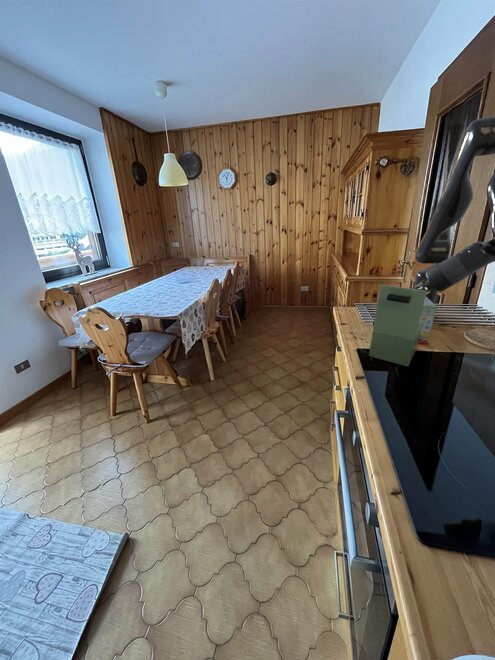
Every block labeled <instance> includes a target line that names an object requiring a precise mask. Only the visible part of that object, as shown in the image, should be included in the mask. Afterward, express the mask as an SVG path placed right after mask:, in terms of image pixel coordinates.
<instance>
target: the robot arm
mask: <svg viewBox="0 0 495 660" xmlns="http://www.w3.org/2000/svg"><path fill="white" fill-rule="evenodd" d="M491 155H495V116H489V117H481V118H478V119H474V120H473V121H471V123H469V125H468V126H467V128H466V129H465V131H464V133H463V136H462V138H461V141H460V143H459V147H458V150H457V154H456V156H455V159H454V162H453V165H452V167H451V168H452V169H451V171H450V173H449V176H448V179H447V181H446V184H445V186H444V188H443V190H442V193H441V196H440V197H439V200H438V202H437V204H436V207H435V209H434V213H433V215H432V217H431V220H430V222H429V225H428V227H427V229H426V231H425V233H424V235H423V237H422V239H421V240H420V242H419V244H418V246H417V249H416V253H415V261H416V262H417V263H419V264H424V265H429V264H430V265H431V266H429V267H427V268H424V269H421V270H419V271H417V272H416V274H415V279H414V283H413V286H412V287H411V289H416V290H424V291H427V292H426V297H427V298H428V299H429V300H430V301H431V302H433V303H434V304H435V305H436V301H437V297H438V293H439V292H441V293H442V292H444V291H446V290H447V289H449V288H451V287H453V286H455V285H457V284H458V283H460V282H462V281H464V280H465V279H467V278H469V276H471V275H472V274H474V273H476V272H478V271H480V270H481V269H483V268H485V267H486V266H488V265H489V264H492V263H495V171H494V172H493V174H492V175H491V177H490V179H489V181H488V182H487V187H486V199H487V203H488V207H489V210H490V213H491V215H490V227H491V228H490V229H491V233H492V236H493V238H492V239H490V240H487V241H476V242H473V243H472V244H470V245H468V246H466V247H464V248H463V249H461V250H460V251H458V252H457V253H455V254H453V255H451V256H450V254H451V253H450V252H451V242H450V241H449V240H446V239H438V238H439V237H440V236H441V235H442V234H444V233H445V232H446V231H448V230H449V229H451V228H452V227H454V226H455V225H456V224H457V223H459V222H460V221H461V220H462V219H463V218H464V216H465V215H466V213H467V212H468V210H469V207H470V205H471V203H472V202H473V198H474V189H473V186H472V181H471V178H470V168H471V166H472V164H473V161H474V159H476V157H483V156H484V157H485V156H491Z"/></svg>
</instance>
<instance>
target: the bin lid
mask: <svg viewBox="0 0 495 660" xmlns="http://www.w3.org/2000/svg"><path fill="white" fill-rule="evenodd" d="M426 292H427V291H424V290H416V289H412V288H408V287H401V286H394V285H393V286H392V285H386V284H380V287H379V292H378V298H377V303H376V309H375V313H374V314H375V315H374V320H373V324H372V325H373V326H372V332H373V331H378V332H382V333H387V334H391V335H396V336H400V337H405V338H409V339H414V340H415V337H416V333H417V329H418V325H419V320H420V316H421V312H422V308H423V304H424V300H425V296H426Z"/></svg>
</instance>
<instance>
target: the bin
mask: <svg viewBox="0 0 495 660" xmlns="http://www.w3.org/2000/svg"><path fill="white" fill-rule="evenodd" d="M422 325H423V324H420V323H419V325H418V329H417V333H416V337H415V340H414V339H409V338H405V337H400V336H396V335H391V334H387V333H382V332H378V331H373V330H372V334H371V338H370V339H371V340H370V346H369V352H368V357H372V358H375V359H379V360H383V361H385V362H390V363H392V364H395V365H400V366H404V367H407V368H408V367H409V366H410V364H411V362H412V360H413V357H414V355H415V353H416V351H417V349H418V345H419V343H418V341H419V337H420V333H421V329H422Z"/></svg>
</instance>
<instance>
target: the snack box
mask: <svg viewBox="0 0 495 660" xmlns="http://www.w3.org/2000/svg"><path fill="white" fill-rule="evenodd" d="M437 310H438V306H437V305H436V303H435V304H434V303H433V302H431V301H430V300H429V299H428V298H427V297H426V296H425V300H424V304H423V308H422V312H421V316H420V320H419V323H420V324H423V325H422V329H421V333H420V337H419V341H418V344H427V343H428V339H429V336H430V333H431V329H432V326H433V322H434V320H435V316H436V313H437Z"/></svg>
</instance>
